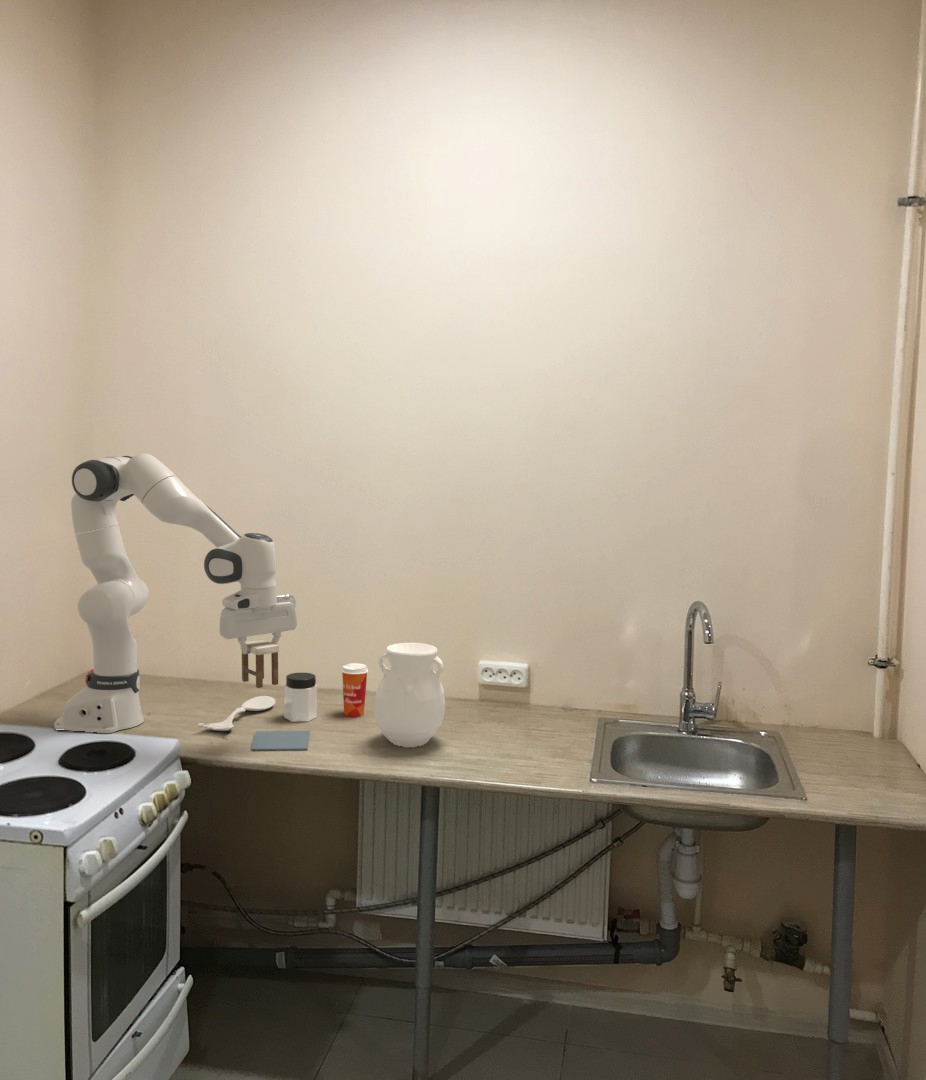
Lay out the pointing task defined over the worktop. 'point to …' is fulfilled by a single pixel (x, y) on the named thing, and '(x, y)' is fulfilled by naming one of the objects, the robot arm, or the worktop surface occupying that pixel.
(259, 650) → the stool
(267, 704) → the white spork
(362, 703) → the paper cup
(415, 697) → the white vase
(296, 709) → the jar
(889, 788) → the worktop surface
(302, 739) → the mat
